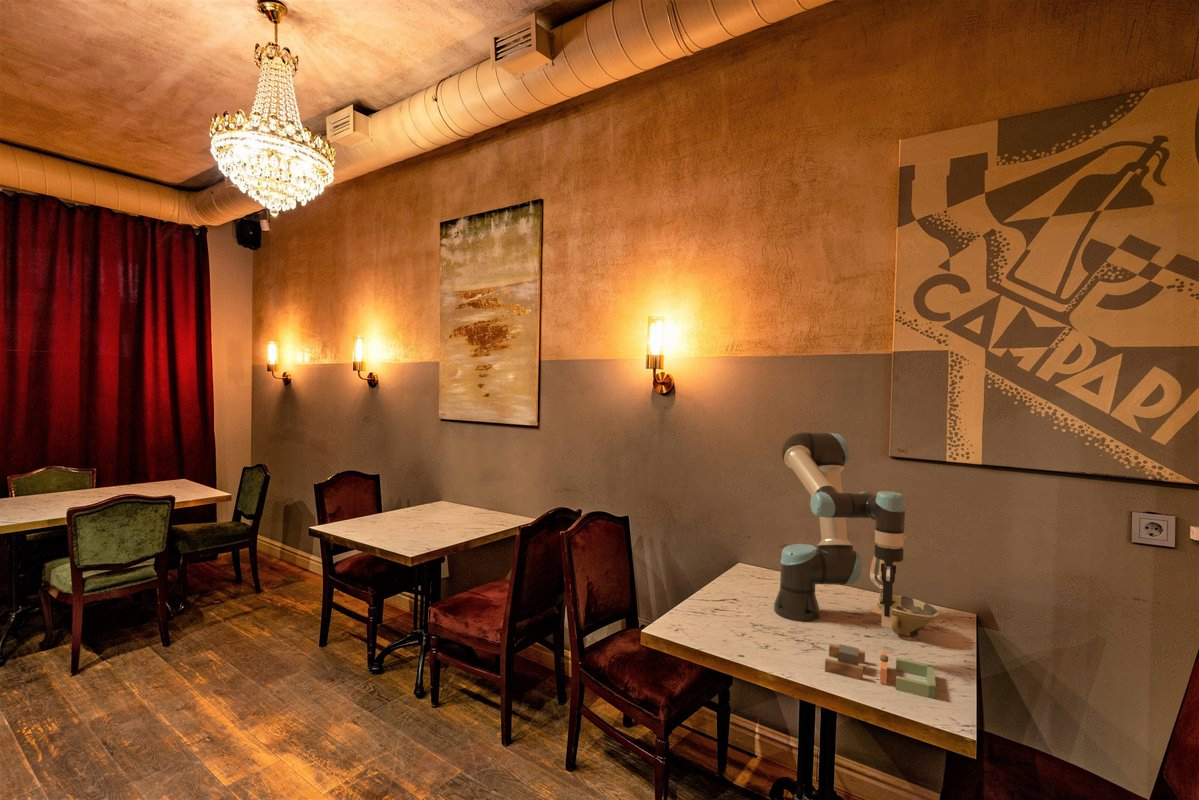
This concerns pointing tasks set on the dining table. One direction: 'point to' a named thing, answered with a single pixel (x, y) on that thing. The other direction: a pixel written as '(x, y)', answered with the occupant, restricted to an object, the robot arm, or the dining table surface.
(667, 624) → the dining table surface
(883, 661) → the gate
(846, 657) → the block
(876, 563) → the wineglass
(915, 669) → the bracket
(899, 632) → the bowl
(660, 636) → the dining table surface
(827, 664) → the clip rails
